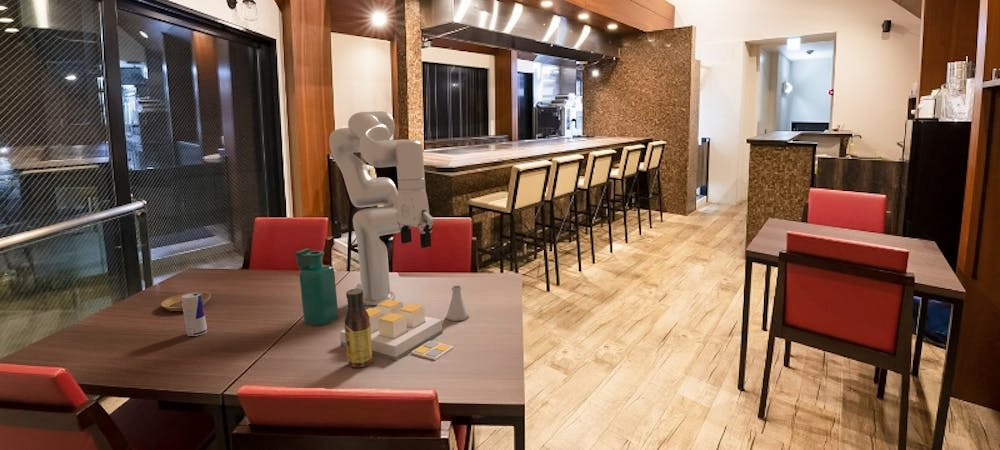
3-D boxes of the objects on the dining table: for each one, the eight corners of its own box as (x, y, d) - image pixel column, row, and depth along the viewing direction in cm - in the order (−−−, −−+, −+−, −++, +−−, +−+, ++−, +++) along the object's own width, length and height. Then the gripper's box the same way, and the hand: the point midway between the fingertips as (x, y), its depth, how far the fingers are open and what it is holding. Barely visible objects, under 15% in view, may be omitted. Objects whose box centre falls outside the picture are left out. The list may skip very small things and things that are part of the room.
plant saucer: (167, 318, 176) (166, 310, 175) (157, 306, 187) (156, 299, 186) (217, 306, 185) (216, 299, 185) (205, 296, 196) (204, 289, 196)
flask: (465, 322, 167) (464, 291, 165) (443, 321, 168) (441, 290, 166) (471, 313, 174) (470, 283, 172) (449, 312, 175) (448, 282, 173)
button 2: (378, 320, 160) (376, 304, 159) (390, 314, 164) (389, 298, 163) (391, 323, 157) (390, 307, 156) (403, 317, 162) (402, 301, 161)
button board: (341, 344, 153) (340, 331, 152) (390, 320, 170) (389, 308, 169) (395, 360, 143) (394, 346, 142) (442, 332, 160) (441, 319, 159)
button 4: (399, 325, 156) (397, 309, 155) (410, 319, 160) (409, 303, 159) (413, 329, 153) (412, 312, 152) (425, 322, 158) (424, 306, 157)
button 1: (357, 330, 153) (356, 313, 152) (371, 323, 158) (369, 307, 157) (371, 334, 151) (370, 316, 150) (384, 327, 155) (383, 310, 154)
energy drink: (211, 331, 164) (206, 293, 162) (196, 338, 159) (190, 299, 157) (197, 329, 166) (192, 291, 163) (182, 336, 161) (176, 297, 159)
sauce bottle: (350, 358, 145) (344, 286, 140) (374, 357, 145) (369, 285, 141) (345, 370, 138) (339, 295, 134) (371, 368, 139) (365, 294, 134)
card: (411, 353, 147) (411, 351, 146) (430, 342, 153) (429, 339, 153) (435, 360, 142) (435, 357, 142) (453, 348, 149) (453, 345, 149)
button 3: (379, 336, 149) (378, 318, 148) (392, 329, 154) (391, 312, 153) (393, 339, 147) (392, 322, 146) (406, 332, 151) (405, 315, 150)
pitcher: (341, 317, 173) (335, 249, 168) (322, 327, 166) (315, 256, 161) (317, 312, 177) (310, 246, 172) (297, 322, 170) (290, 253, 165)
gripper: (383, 185, 158) (388, 243, 161) (418, 188, 145) (422, 251, 148) (405, 182, 163) (410, 238, 166) (441, 185, 150) (445, 246, 153)
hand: (416, 244), depth 157 cm, fingers open, 9 cm apart
